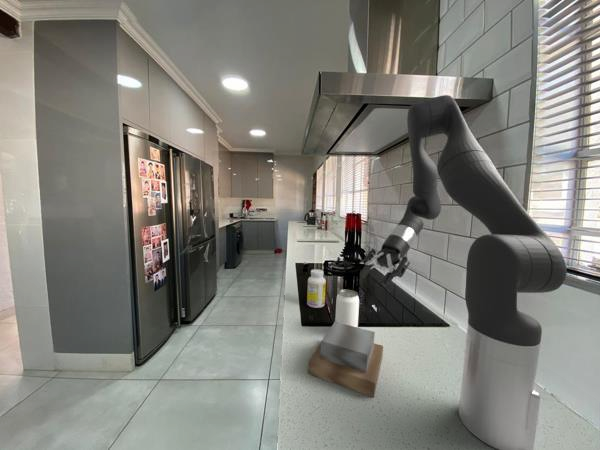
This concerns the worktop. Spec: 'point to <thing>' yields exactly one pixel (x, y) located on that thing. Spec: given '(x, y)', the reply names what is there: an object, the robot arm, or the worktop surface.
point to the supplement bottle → (316, 289)
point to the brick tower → (348, 358)
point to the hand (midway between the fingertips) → (372, 280)
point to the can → (347, 308)
